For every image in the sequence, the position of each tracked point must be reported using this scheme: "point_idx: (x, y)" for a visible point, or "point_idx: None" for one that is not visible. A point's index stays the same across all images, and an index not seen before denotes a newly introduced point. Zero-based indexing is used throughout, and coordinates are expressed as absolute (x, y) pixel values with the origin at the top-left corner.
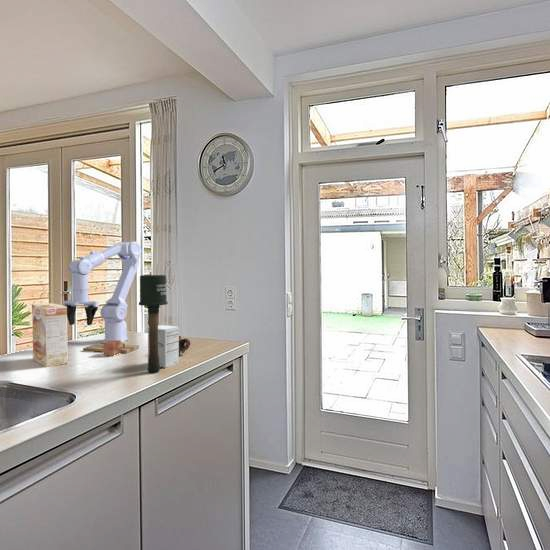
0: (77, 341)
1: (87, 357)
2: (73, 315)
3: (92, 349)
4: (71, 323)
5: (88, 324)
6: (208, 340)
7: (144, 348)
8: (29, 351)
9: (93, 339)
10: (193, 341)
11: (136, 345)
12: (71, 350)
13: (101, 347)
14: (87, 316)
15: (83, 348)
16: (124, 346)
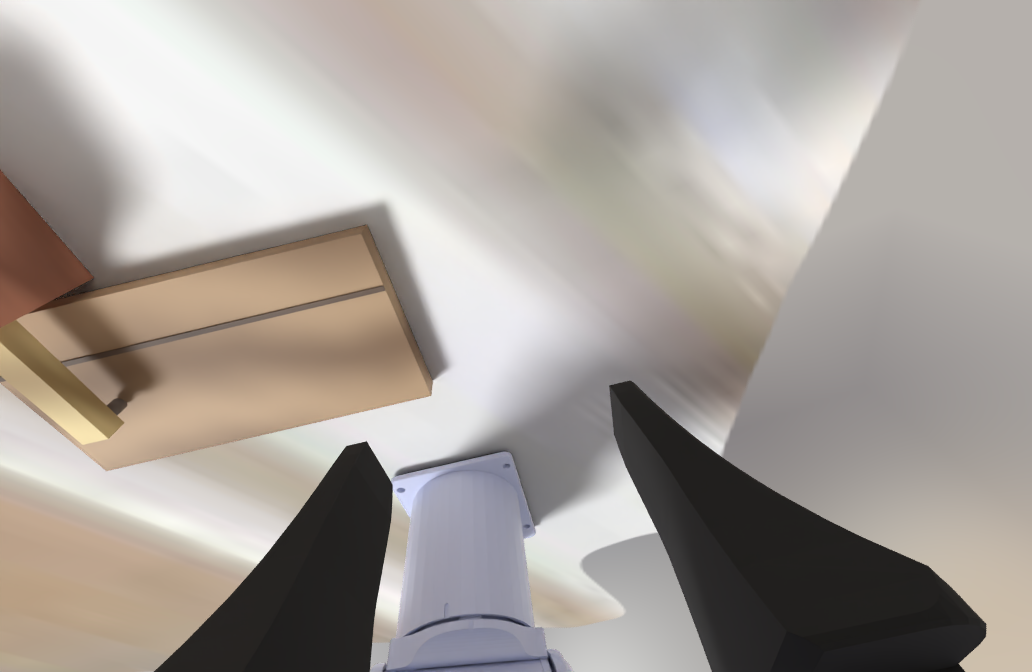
0: (690, 427)
1: (27, 22)
2: (669, 538)
3: (272, 254)
4: (615, 404)
5: (342, 454)
6: (56, 666)
7: (87, 464)
8: (849, 11)
9: (634, 488)
10: (89, 637)
11: (108, 461)
12: (498, 215)
13: (247, 318)
14: (286, 562)
15: (357, 234)
16: (112, 403)
